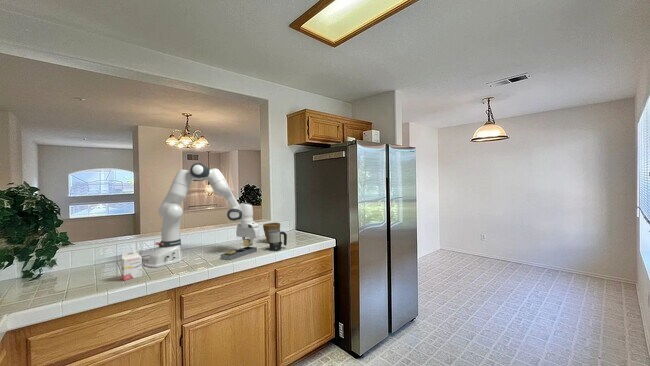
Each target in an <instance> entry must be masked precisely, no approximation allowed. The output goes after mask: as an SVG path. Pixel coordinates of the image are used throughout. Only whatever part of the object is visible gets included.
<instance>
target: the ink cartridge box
mask: <svg viewBox="0 0 650 366" xmlns="http://www.w3.org/2000/svg"><path fill="white" fill-rule="evenodd" d="M139 253H140V250H139V249H134V250H129V251H124V252H122V253H121V259H120V261H121V263H120V264H121V267H120V269H121V280H122V281H128V280H133V278H134V279H137V277H138V278H141V276H142V277H143V262H142V261H143V260H142V259H143V258H142V255H140V254H139Z"/></svg>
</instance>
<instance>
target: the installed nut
mask: <svg viewBox="0 0 650 366" xmlns="http://www.w3.org/2000/svg"><path fill="white" fill-rule="evenodd" d="M234 250H235V249H234ZM234 250H233V249H230V250H227V251H225V252H224V253H226V255H233V254H236V251H234Z"/></svg>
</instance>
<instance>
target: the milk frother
mask: <svg viewBox="0 0 650 366" xmlns="http://www.w3.org/2000/svg"><path fill="white" fill-rule="evenodd" d="M268 232H269V243H268V244H269V249H268V251H269V252H270V251H271V252H278V251H280V250H282V245H284V246H287V241H288V240H287V239H288V234H287V233H286V232H285V231H281V229H280V230H270V231H268ZM282 235H283V242H282V238H281V237H282Z"/></svg>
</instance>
